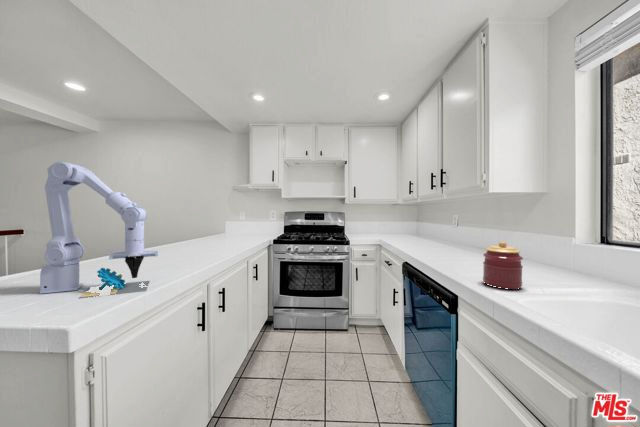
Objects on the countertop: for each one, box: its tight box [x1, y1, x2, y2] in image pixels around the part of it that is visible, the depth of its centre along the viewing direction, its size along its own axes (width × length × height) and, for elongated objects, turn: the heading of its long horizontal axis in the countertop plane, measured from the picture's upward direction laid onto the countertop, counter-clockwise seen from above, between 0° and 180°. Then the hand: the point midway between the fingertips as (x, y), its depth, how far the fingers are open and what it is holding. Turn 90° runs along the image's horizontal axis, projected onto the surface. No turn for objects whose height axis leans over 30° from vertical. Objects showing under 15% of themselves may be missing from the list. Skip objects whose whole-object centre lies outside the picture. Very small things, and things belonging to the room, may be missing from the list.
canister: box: [482, 240, 524, 289], centre depth 106 cm, size 13×13×18 cm
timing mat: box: [78, 280, 151, 300], centre depth 95 cm, size 18×15×1 cm
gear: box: [96, 267, 126, 290], centre depth 94 cm, size 11×6×10 cm
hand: (134, 277), depth 97 cm, fingers closed
